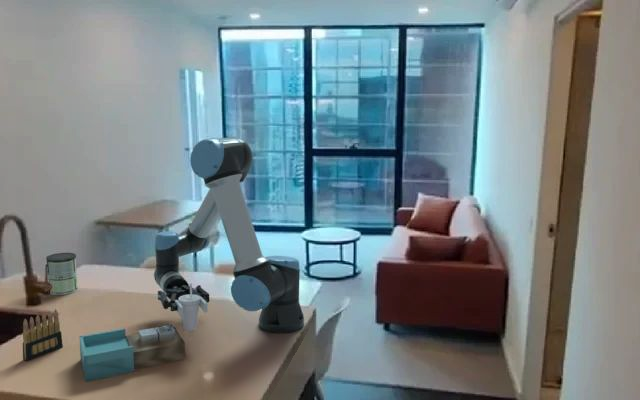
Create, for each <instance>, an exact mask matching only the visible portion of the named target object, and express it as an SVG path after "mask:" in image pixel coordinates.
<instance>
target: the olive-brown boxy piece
mask: <svg viewBox="0 0 640 400" xmlns="http://www.w3.org/2000/svg"><path fill="white" fill-rule="evenodd" d="M173 328H174V329H175V339H170V340H165V341H159V340H158V342H154V343H149V344H144V345H142V344H141V342H140V340H139V333H135V334H129V335H126V339H127V342H128V344H129V346H133V356H134V371H135V370H139V369H144V368H149V367H153V366H159V365H162V364H168V363H172V362H177V361H181V360H186V342H185V340H184V339H183V337H182V336H181V335H180V332H178V330H177V328H176V327H175V326H173Z"/></svg>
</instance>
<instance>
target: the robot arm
mask: <svg viewBox="0 0 640 400" xmlns="http://www.w3.org/2000/svg"><path fill="white" fill-rule="evenodd" d="M189 157H190V158H189V161H190V167H191V170H192V172H193V173H194V174H195V175H196V176H197V177H199V178H201V179H203V182H204V185H205V187H206V188H208V192H207V193H206V196H205V197H204V198H203V201H202V203H201V204H200V206H199V208H198V210H197V212H196V214H195V215H194V217H193V219H192V220H191V222H190V224H189V226H188V228H187V229H186V231H185V232H184V233H181V234H179V233H178V232H176V231H172V230H171V231H170V230H169V231H161V232H158V233H156V235H155V241H154V248H155V249H154V250H155V270H154V272H153V277H154V281H155V282H156V284H157V285H158V287H159V288H160V289H161V290H158V291H157V300H158V301H160V303H161V305H162V307H163V309H164V310H168V309H169V308H170V312H177V314H178V315H179V316H180V317H181V318H182V316H183V306H182V305H181V304H180V302H179V301H178V298H179V297H180V296H183V295H187V294H190V283H188V281H187V280H186V279H185V278H184V277H183V276H182V275H181V273H180V257H184V256H187V255H190V254H192V253H193V254H194V253H197V252H200V251H203V250H204V249H206V248H207V247H208V246H209V244H210V239H211V238H210V233H211V231H212V230H213V228H214V227H215V225H216V222H217V221H218V220H219V218H220V219H221V222H222V225H223V229H224V231H225V234H226V239H227V241H228V244H229V246H230V247H229V248H230V250H231V254H232V257H233V260H234V263H235V265H234V267H233V269H232V274H233V277H234V279H233V280H232V282H231V286H230V294H231V297H232V299H233V300H234V302H235V303H236V305H237V306H238V307H239V308H242V309H243V310H245V311H247V312H257V311H260V313H259V317H258V327H259V328H260V329H262V330H264V331H267V332H270V333H277V334H284V333H293V332H296V331H298V330H300V329H302V328H303V327H304V325H305V317H304V313H303V311H302V307H301V304H300V273H301V272H300V271H301V269H300V261H299V259H298V258H295V257H291V256H287V255H268V256H264V255H263V253H262V250H261V247H260V244H259V239H258V237H257V233H256V231H255V226H254V224H253V222H252V218H251V215H250V211H249V208H248V205H247V203H246V202H247V201H246V199H245V197H244V192H243V190H242V186H241V183H243V182H244V181H245V179H246V177H247V176H248V174H249V172H250V170H251V168H252V166H253V158H254V157H253V152H252V149H251V147H250V145H249V144H248V143H247V142H246V141H244V140H243V139H241V138H238V137H210V138H205V139H201V140H200V141H198V142H197V143H196V144H195V145H194V147H193V148H192V151H191V153H190V156H189ZM192 294H195V295H199V296H200V302H199V308H200V309H201V310H202V311H203V312H204V313H208V303H210V293H209V292H207V291H206V290H205V289H204V288H202V286H201V285H197V286H196V287H192ZM169 300H170V301H169Z"/></svg>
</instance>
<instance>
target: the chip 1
mask: <svg viewBox="0 0 640 400" xmlns="http://www.w3.org/2000/svg"><path fill="white" fill-rule="evenodd" d="M138 334H139V340H140V342H141V344H142V345H144V344H149V343H154V342H158V332H157V331H156V327H151V328H144V329H139V330H138Z"/></svg>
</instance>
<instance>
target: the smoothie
mask: <svg viewBox="0 0 640 400" xmlns="http://www.w3.org/2000/svg"><path fill="white" fill-rule="evenodd" d="M189 286H190V294H187V295H183V296H180V297H179V298H178V301H179V302H180V304H181V305H182V306H183V316H182V317H181V322H182V327H183V331H184V332H194V331H196V330H197V327H198V326H197V325H198V314H199V310H200V309H199V308H200V306H199V302H200V296H199V295H195V294H192V288H193V284H192V283H191V282H190V283H189Z"/></svg>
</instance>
